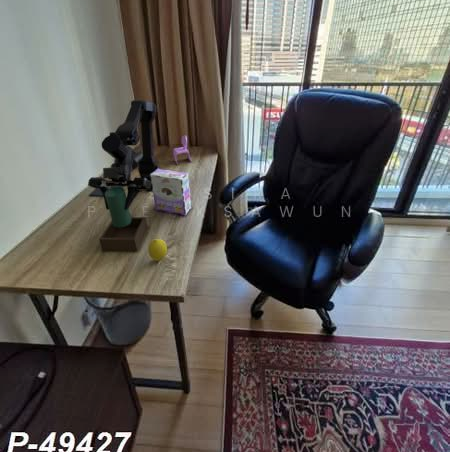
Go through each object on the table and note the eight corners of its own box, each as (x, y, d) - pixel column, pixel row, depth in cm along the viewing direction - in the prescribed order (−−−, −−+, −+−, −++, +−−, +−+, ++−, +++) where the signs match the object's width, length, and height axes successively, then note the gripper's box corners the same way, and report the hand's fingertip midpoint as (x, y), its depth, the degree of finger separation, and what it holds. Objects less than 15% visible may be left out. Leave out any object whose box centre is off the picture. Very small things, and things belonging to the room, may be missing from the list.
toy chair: (173, 160, 146) (170, 135, 139) (188, 157, 149) (186, 133, 142) (177, 165, 139) (174, 140, 132) (192, 162, 142) (190, 137, 135)
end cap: (138, 170, 135) (136, 158, 131) (126, 169, 136) (123, 157, 133) (146, 162, 143) (144, 151, 140) (135, 161, 144) (133, 150, 141)
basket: (116, 227, 92) (113, 216, 90) (147, 227, 92) (145, 217, 90) (102, 250, 82) (98, 239, 80) (137, 251, 82) (134, 239, 80)
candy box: (192, 208, 103) (188, 172, 96) (185, 216, 98) (181, 179, 91) (162, 202, 107) (157, 167, 100) (155, 209, 102) (149, 174, 95)
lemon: (152, 253, 81) (148, 234, 77) (169, 252, 81) (166, 233, 78) (148, 267, 76) (144, 247, 72) (167, 265, 76) (164, 245, 73)
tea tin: (130, 214, 87) (124, 185, 82) (132, 224, 83) (125, 194, 77) (112, 219, 85) (104, 189, 80) (113, 229, 81) (104, 198, 75)
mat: (103, 183, 122) (102, 182, 122) (124, 184, 121) (124, 183, 120) (89, 195, 112) (89, 194, 112) (112, 197, 111) (112, 196, 111)
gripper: (82, 154, 77) (72, 205, 72) (142, 154, 77) (136, 205, 72) (100, 166, 88) (93, 210, 83) (153, 166, 87) (148, 211, 83)
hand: (116, 209), depth 80 cm, fingers closed on tea tin, 6 cm apart
